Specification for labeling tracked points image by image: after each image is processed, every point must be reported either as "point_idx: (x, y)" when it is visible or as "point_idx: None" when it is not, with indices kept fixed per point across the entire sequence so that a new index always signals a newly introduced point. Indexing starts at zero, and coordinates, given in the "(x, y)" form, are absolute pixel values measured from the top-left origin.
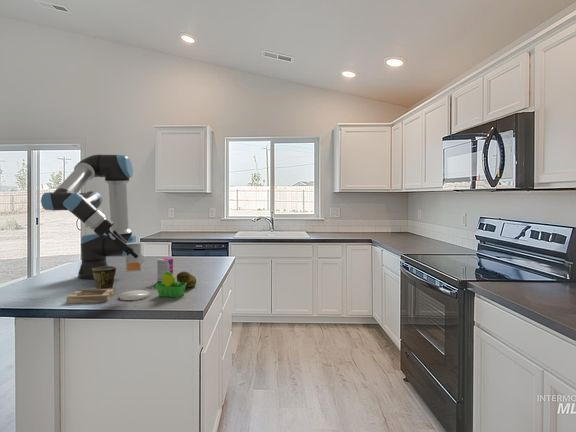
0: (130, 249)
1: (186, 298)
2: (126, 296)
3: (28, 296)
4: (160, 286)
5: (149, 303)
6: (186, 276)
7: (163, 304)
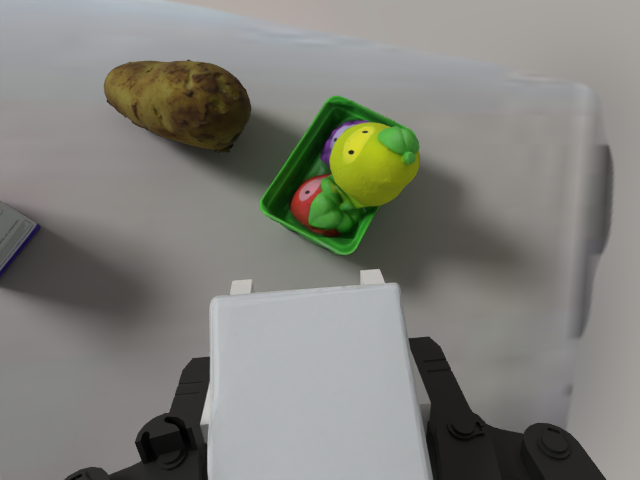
0: (574, 447)
1: None
2: None
3: None
4: (366, 228)
5: (468, 294)
6: (238, 82)
7: (496, 228)
